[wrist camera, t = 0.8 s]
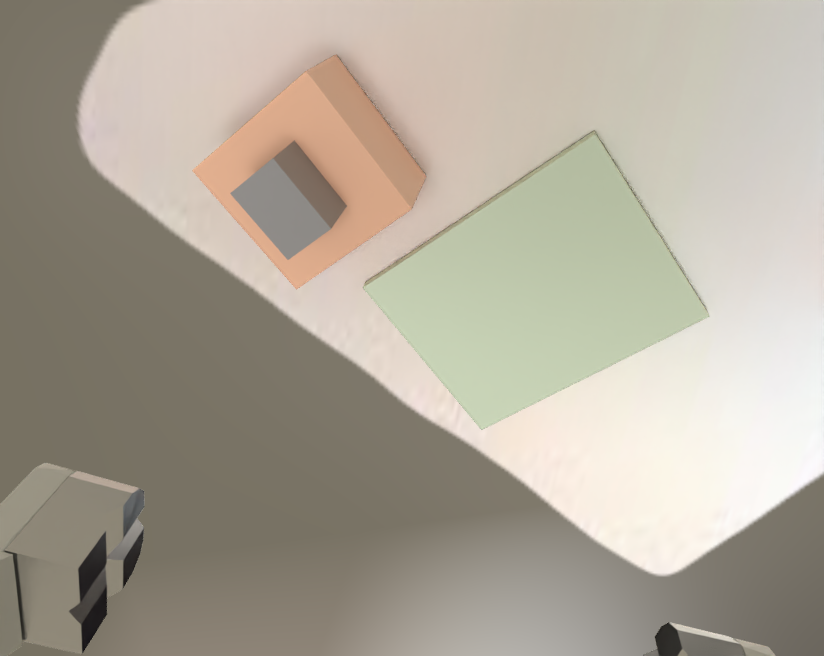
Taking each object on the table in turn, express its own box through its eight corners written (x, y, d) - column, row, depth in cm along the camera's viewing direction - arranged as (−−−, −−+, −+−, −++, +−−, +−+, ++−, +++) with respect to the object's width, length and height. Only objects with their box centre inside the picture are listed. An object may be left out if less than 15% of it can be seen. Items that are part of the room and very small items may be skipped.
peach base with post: (335, 54, 44) (284, 82, 34) (426, 176, 47) (401, 232, 38) (233, 143, 48) (162, 190, 38) (323, 249, 51) (277, 317, 42)
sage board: (594, 130, 44) (595, 134, 43) (706, 309, 49) (709, 316, 48) (365, 282, 52) (362, 287, 51) (482, 422, 57) (481, 430, 56)
